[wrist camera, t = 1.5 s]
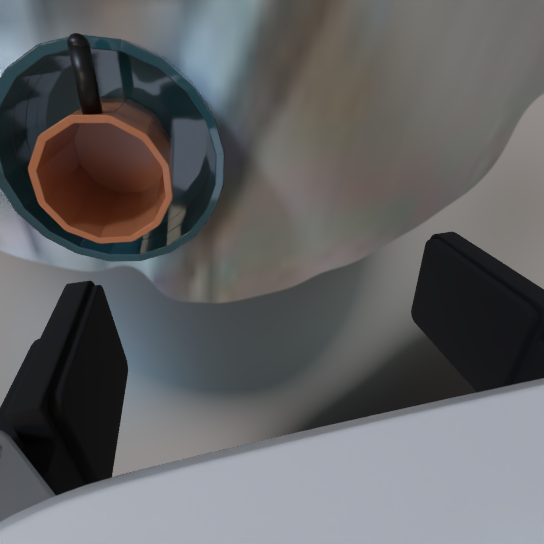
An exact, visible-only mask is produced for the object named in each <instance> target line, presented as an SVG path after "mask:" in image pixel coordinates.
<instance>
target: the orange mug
mask: <svg viewBox="0 0 544 544" xmlns="http://www.w3.org/2000/svg"><path fill="white" fill-rule="evenodd" d="M67 46H68V51H69V55H70V60H71V65H72V69H73V74H74V78H75V83H76V88H77V92H78V97H79V101H80V106H81V109H79V110H77V111H76V112H74V113H72V114H70V115H69V116H67V117H65V118H64V119H62V120H61V121H59V122H58V123H56V124H55V125H53V126H52V127H50V128H49V129H47V130H46V131H44V132H43V133H41V134H40V135H39V136H38V138H37V141H36V144H35V148H34V151H33V154H32V157H31V160H30V163H29V166H28V172H29V175H30V178H31V182H32V185H33V188H34V191H35V194H36V198H37V201H38V204H39V205H40V206H41V207H42V208H43V209H44V210H45V211H46V212H47V213H48V214H49V215H50V216H51V217H52V218H53V219H54V220H55V221H56V222H57V223H58V224H59V225H60V226H61V227H62V228H63V229H64V230H66V231H67V232H70V233H73V234H75V235H78V236H81V237H83V238H86V239H89V240H91V241H94V242H96V243H100V244H102V243H118V242H132V241H135V240H136V239H138V238H140V237H141V236H143V235H145V234H146V233H148V232H149V231H151V230H153V229H154V228H156V227H158V226H159V225H160V223H161V221H162V219H163V217H164V215H165V213H166V211H167V209H168V207H169V205H170V203H171V201H172V198H173V173H174V158H173V148H172V139H171V135H170V134H169V132H168V131H167V129H166V128H165V126H164V124H163V123H162V122H161V120H160V119H159V118H158V116H157V115H156V113H155V112H153V111H151V110H150V109H148V108H147V107H145V106H143V105H142V104H140V103H138V102H135V101H134V100H132V99H130V98H117V97H113V98H100V95H99V90H98V84H97V79H96V74H95V68H94V63H93V58H92V53H91V47H90V44H89V41H88V40H87V39H86V38H85V37H84V36H83V35H81V34H78V33H74V34H71V35H70V36H69V37H68V39H67Z"/></svg>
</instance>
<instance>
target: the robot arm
mask: <svg viewBox="0 0 544 544" xmlns="http://www.w3.org/2000/svg"><path fill="white" fill-rule="evenodd" d="M411 314H412V318H413V320H414V322H415V323H416V324H417V325H418V327H419V328H420V329H421V330H422V331H423V332H424V333H425V334H426V336H427V337H428V338H429V339H430V340H431V341H432V342H433V343H434V345H435V346H436V347H437V348H438V349H439V350H440V351H441V352H442V353H443V355H444V356H445V357H446V358H447V359H448V360H449V361H450V363H451V364H452V365H453V366H454V367H455V368H456V369H457V371H458V372H459V373H460V374H461V375H462V376H463V377H464V379H465V380H466V381H467V382H468V383H469V384H470V385H471V386H472V388H473V389H474V390H475V391H476V392H477V393H473V394H468V395H464V396H459V397H454V398H450V399H445V400H440V401H436V402H431V403H427V404H423V405H418V406H414V407H409V408H404V409H400V410H395V411H391V412H386V413H382V414H378V415H373V416H369V417H365V418H360V419H356V420H351V421H346V422H342V423H338V424H333V425H329V426H324V427H320V428H315V429H311V430H306V431H303V432H298V433H293V434H289V435H285V436H280V437H276V438H272V439H267V440H263V441H258V442H254V443H250V444H245V445H241V446H237V447H233V448H228V449H223V450H219V451H215V452H210V453H206V454H202V455H198V456H194V457H190V458H187V459H182V460H178V461H174V462H170V463H166V464H162V465H158V466H154V467H150V468H146V469H141V470H137V471H133V472H129V473H126V474H122V475H119V476H115V477H112V472H113V466H114V459H115V452H116V446H117V439H118V433H119V427H120V420H121V414H122V407H123V401H124V394H125V388H126V381H127V374H128V365H127V360H126V356H125V354H124V350H123V347H122V344H121V341H120V338H119V335H118V332H117V329H116V326H115V323H114V320H113V317H112V314H111V311H110V308H109V305H108V302H107V299H106V296H105V293H104V290H103V288H102V286H101V285H96V286H95V285H94V283H93V282H92V281H86V282H78V283H71V284H67V285H66V286H65V288H64V290H63V292H62V294H61V296H60V298H59V300H58V303H57V305H56V307H55V309H54V311H53V313H52V315H51V317H50V319H49V321H48V323H47V326H46V327H45V330H44V332H43V334H42V336H41V338H40V339H38V340H36V341H35V342H34V343H33V344H32V345H31V347H30V350H29V351H28V353H27V355H26V357H25V359H24V361H23V363H22V366H21V367H20V369H19V371H18V373H17V375H16V377H15V379H14V381H13V383H12V385H11V387H10V389H9V391H8V393H7V395H6V398H5V399H4V401H3V403H2V405H1V407H0V544H544V289H542V288H541V287H539V286H537V285H536V284H534V283H533V282H531V281H530V280H528V279H527V278H525V277H523V276H522V275H520V274H519V273H517V272H516V271H514V270H512V269H511V268H509V267H508V266H506V265H505V264H503V263H502V262H500V261H498V260H497V259H496V258H494V257H492V256H491V255H489V254H488V253H486V252H485V251H483V250H482V249H480V248H478V247H477V246H475V245H474V244H472V243H471V242H469V241H468V240H466V239H464V238H463V237H461V236H460V235H458V234H457V233H454V232H447V233H440V234H434V235H432V237H431V238H430V240H428V241H427V242H426V245H425V250H424V254H423V258H422V263H421V268H420V273H419V277H418V282H417V286H416V291H415V296H414V301H413V305H412V310H411Z"/></svg>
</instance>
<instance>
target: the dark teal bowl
mask: <svg viewBox="0 0 544 544" xmlns="http://www.w3.org/2000/svg"><path fill="white" fill-rule="evenodd" d="M83 36H84V37H85V38H86V39H87V40H88V41H89V44H90V47H91V53H92V58H93V63H94V68H95V74H96V79H97V84H98V90H99V95H100V98H113V97H117V98H130V99H132V100H134V101H135V102H138V103H140V104H142V105H143V106H145V107H147V108H148V109H150V110H151V111H153V112H155V113H156V115H157V116H158V118H159V119H160V120H161V122H162V123H163V124H164V126H165V128H166V129H167V131H168V132H169V134H170V135H171V139H172V148H173V158H174V173H173V198H172V201H171V203H170V205H169V207H168V209H167V211H166V213H165V215H164V217H163V219H162V221H161V223H160V225H159V226H158V227H156V228H154V229H153V230H151V231H149V232H148V233H146V234H145V235H143V236H141V237H140V238H138V239H136V240H135V241H132V242H118V243H102V244H100V243H96V242H94V241H91V240H89V239H86V238H83V237H81V236H78V235H75V234H73V233H70V232H67V231H66V230H64V229H63V228H62V227H61V226H60V225H59V224H58V223H57V222H56V221H55V220H54V219H53V218H52V217H51V216H50V215H49V214H48V213H47V212H46V211H45V210H44V209H43V208H42V207H41V206H40V205H39V204H38V201H37V198H36V194H35V191H34V188H33V185H32V182H31V178H30V175H29V172H28V166H29V163H30V160H31V157H32V154H33V151H34V148H35V144H36V141H37V138H38V136H39V135H40V134H41V133H43V132H44V131H46V130H47V129H49V128H50V127H52V126H53V125H55V124H56V123H58V122H59V121H61V120H62V119H64V118H65V117H67V116H69V115H70V114H72V113H74V112H76V111H77V110H79V109H81V106H80V101H79V97H78V92H77V88H76V83H75V78H74V74H73V69H72V65H71V60H70V55H69V51H68V46H67V39H68V37H66V38H62V39H58V40H53V41H49V42H45V43H41V44H38V45H36V46H35V47H33V48H32V49H31V50H29V51H28V52H27V53H25V54H24V55H23V56H21V57H20V58H19V59H17V60H16V61H15V62H13V63H12V64H11V65H10V66H8V67H7V68H6V69H5V70H4V72H3V74H2V76H1V78H0V188H1V189H2V191H3V192H4V194H5V195H6V197H7V198H8V200H9V202H10V203H11V205H12V206H13V208H14V209H15V211H16V212H17V213H18V214H19V215H21V216H22V217H23V218H24V219H25V220H26V221H27V222H28V223H30V224H31V225H32V226H33V227H34V228H35V229H36V230H37V231H39V232H40V233H41V234H42V235H43V236H45V237H46V238H48V239H50V240H52V241H54V242H56V243H57V244H59V245H61V246H63V247H65V248H67V249H69V250H71V251H73V252H75V253H78V254H81V255H86V256H90V257H94V258H98V259H102V260H107V261H141V260H146V259H149V258H153V257H156V256H159V255H163V254H166V253H170V252H172V251H173V250H175V249H176V248H178V247H179V246H181V245H182V244H184V243H185V242H187V241H189V240H190V239H192V238H193V237H194V236H196V234H197V233H198V232H199V231H200V229H201V228H202V227H203V226H204V224H205V223H206V222H207V221H208V220H209V218H210V217H211V216H212V214H213V213H214V210H215V207H216V205H217V202H218V199H219V196H220V194H221V191H222V188H223V184H224V150H223V146H222V143H221V139H220V136H219V132H218V129H217V125H216V121H215V119H214V117H213V115H212V113H211V112H210V110H209V108H208V107H207V105H206V104H205V102H204V100H203V99H202V97H201V96H200V94H199V92H198V91H197V89H196V88H195V86H194V85H193V83H192V82H191V80H189V79H188V78H187V77H186V76H185V75H184V74H183V73H182V72H180V71H179V70H178V69H177V68H176V67H175V66H174V65H173V64H171V63H170V62H169V61H168V60H167V59H166V58H164V57H163V56H160V55H158V54H156V53H154V52H152V51H150V50H147V49H145V48H143V47H141V46H139V45H137V44H135V43H132V42H129V41H125V40H121V39H113V38H105V37H96V36H88V35H83Z"/></svg>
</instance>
